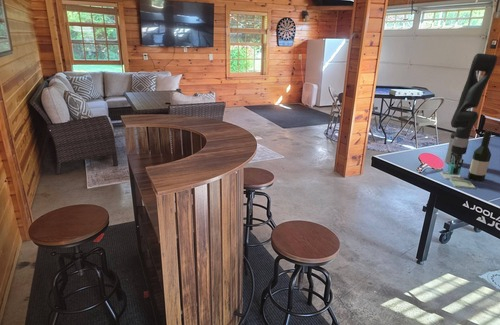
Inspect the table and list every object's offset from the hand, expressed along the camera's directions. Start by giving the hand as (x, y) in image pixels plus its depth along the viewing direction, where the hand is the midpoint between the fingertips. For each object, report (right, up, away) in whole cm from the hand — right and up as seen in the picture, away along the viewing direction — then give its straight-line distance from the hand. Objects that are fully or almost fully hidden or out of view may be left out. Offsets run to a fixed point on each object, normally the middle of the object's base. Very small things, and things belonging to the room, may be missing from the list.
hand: (453, 172), depth 195 cm
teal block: (0, -1, 0) cm, 1 cm away
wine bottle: (+13, -5, -1) cm, 13 cm away
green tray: (-1, -7, -9) cm, 12 cm away
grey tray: (0, -3, +1) cm, 4 cm away
